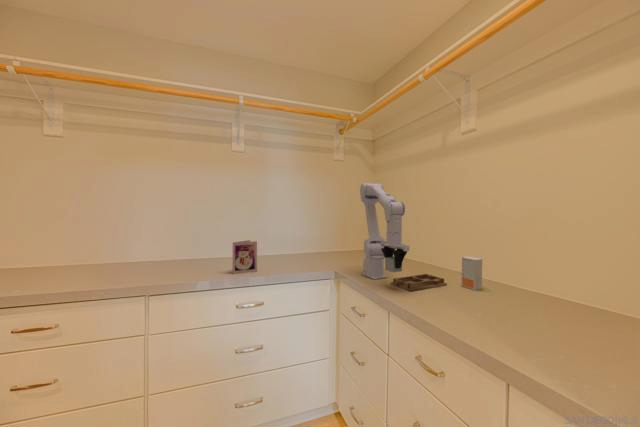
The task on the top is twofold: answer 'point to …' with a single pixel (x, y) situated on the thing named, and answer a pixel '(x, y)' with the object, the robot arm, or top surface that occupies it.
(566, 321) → the top surface
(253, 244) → the greeting card
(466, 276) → the skincare box
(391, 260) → the slate block
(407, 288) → the slot rack
